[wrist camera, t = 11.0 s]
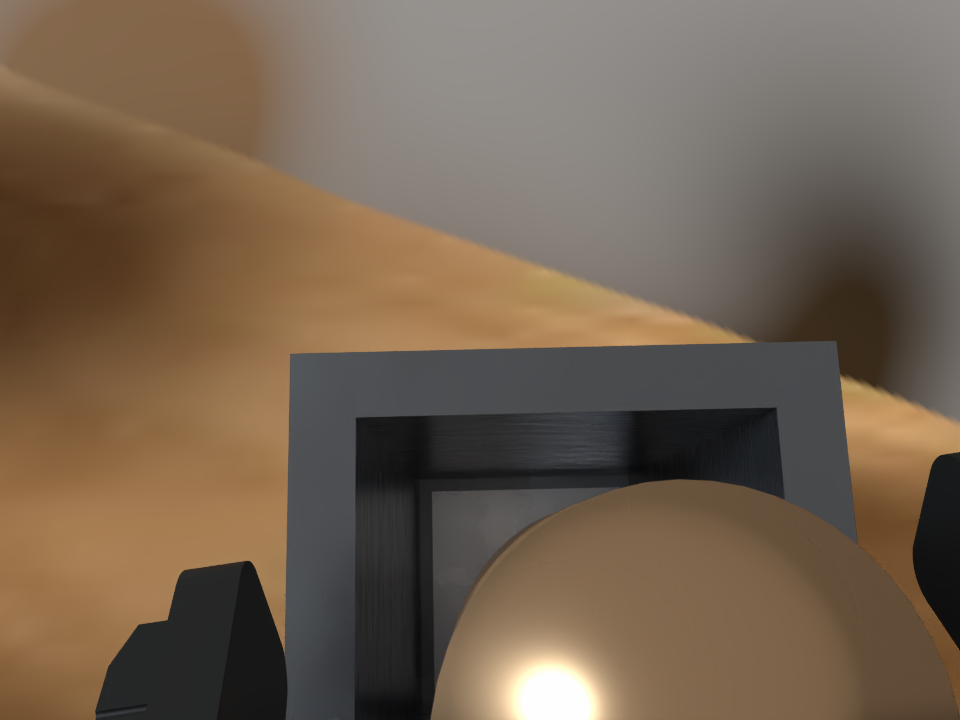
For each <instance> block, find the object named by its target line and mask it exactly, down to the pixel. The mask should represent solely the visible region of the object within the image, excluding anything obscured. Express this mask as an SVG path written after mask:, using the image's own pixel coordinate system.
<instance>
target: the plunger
mask: <svg viewBox="0 0 960 720" xmlns="http://www.w3.org/2000/svg"><path fill="white" fill-rule="evenodd" d="M432 529H433V608H434V687H435V690H436V691H435V697H434V702H433V708H432V714H431V720H960V718H959V712H958V707H957V703H956V700H955V697H954V694H953V690H952V687H951V684H950V681H949V678H948V674H947V671H946V669H945V666H944V664H943V662H942V660H941V657H940V655H939V653H938V651H937V648H936V646H935V644H934V642H933V639H932V637H931V635H930V634H929V632H928V630H927V629H926V627H925V625H924V624H923V622H922V620H921V619H920V617H919V615H918V614H917V612H916V610H915V609H914V607H913V605H912V604H911V603H910V601H909V600H908V599H907V597H906V596H905V595H904V594H903V592H902V591H901V590H900V588H899V587H898V586H897V584H896V583H895V582H894V581H893V579H892V578H891V577H890V576H889V575H888V574H887V573H886V572H885V570H884V569H883V568H882V567H881V566H880V565H879V564H878V563H877V562H876V561H875V560H874V559H873V558H872V557H871V556H870V555H869V554H868V553H867V552H866V551H865V550H864V549H862V548H861V547H860V546H858V545H857V544H856V543H855V542H853V541H852V540H851V539H850V538H848V537H847V536H846V535H845V534H843V533H842V532H841V531H840V530H838V529H837V528H835V527H834V526H832V525H831V524H829V523H827V522H826V521H824V520H822V519H821V518H819V517H817V516H816V515H814V514H813V513H811V512H809V511H808V510H805V509H803V508H801V507H799V506H797V505H794V504H792V503H790V502H788V501H786V500H783V499H781V498H779V497H777V496H774V495H770V494H767V493H764V492H761V491H757V490H754V489H751V488H748V487H745V486H739V485H733V484H727V483H722V482H716V481H705V480H681V479H677V480H666V481H655V482H645V483H641V484H636V485H632V486H627V487H623V488H620V487H607V488H565V489H523V490H481V491H439V492H432Z"/></svg>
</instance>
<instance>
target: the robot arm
mask: <svg viewBox="0 0 960 720" xmlns="http://www.w3.org/2000/svg"><path fill="white" fill-rule="evenodd" d="M913 564H914V570H915V574H916V578H917V581H918V584H919V586H920V589H921V591H922V593H923V595H924V597H925V599H926V600H927V602H928V604H929V605H930V607H931V608H932V609H933V611H934V612H935V614H936V615H937V617H938V618H939V620H940V621H941V623H942V624H943V626H944V627H945V629H946V630H947V632H948V633H949V635H950V636H951V638H952V639H953V641H954V642H955V644H956V645H957V647H958V648H959V650H960V452H958V453H951V454H945V455H940V456H939V457H937V458H936V459H935V461H934V463H933V464H932V467H931V471H930V475H929V479H928V484H927V488H926V492H925V497H924V501H923V506H922V510H921V514H920V519H919V523H918V527H917V532H916V536H915V540H914V545H913ZM287 696H288V684H287V669H286V661H285V656H284V651H283V647H282V643H281V640H280V638H279V635H278V632H277V629H276V626H275V623H274V620H273V618H272V615H271V612H270V609H269V606H268V603H267V600H266V598H265V595H264V592H263V589H262V586H261V583H260V580H259V578H258V575H257V572H256V569H255V567H254V565H253V564H252V563H251V562H250V561H243V562H236V563H229V564H223V565H216V566H209V567H203V568H196V569H189V570H184V571H183V572H182V573H181V574H180V576H179V578H178V581H177V584H176V588H175V592H174V596H173V600H172V604H171V608H170V613H169V617H168V620H167V621H160V622H154V623H147V624H140V625H138V626H137V628H136V629H135V631H134V632H133V633H132V635H131V636H130V637H129V639H128V640H127V642H126V643H125V644H124V646H123V647H122V649H121V650H120V651H119V653H118V654H117V655H116V657H115V658H114V660H113V661H112V662H111V664H110V665H109V667H108V670H107V673H106V677H105V680H104V684H103V687H102V690H101V694H100V697H99V700H98V704H97V707H96V711H95V713H96V720H286V709H287Z"/></svg>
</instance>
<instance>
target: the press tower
mask: <svg viewBox="0 0 960 720" xmlns="http://www.w3.org/2000/svg"><path fill="white" fill-rule="evenodd" d="M677 479H681V480H705V481H716V482H722V483H727V484H733V485H739V486H745V487H748V488H751V489H754V490H757V491H761V492H764V493H767V494H770V495H774V496H777V497H779V498H781V499H783V500H786V501H788V502H790V503H792V504H794V505H797V506H799V507H801V508H803V509H805V510H808V511H809V512H811V513H813V514H814V515H816V516H817V517H819V518H821V519H822V520H824V521H826V522H827V523H829V524H831V525H832V526H834V527H835V528H837V529H838V530H840V531H841V532H842V533H843V534H845V535H846V536H847V537H848V538H850V539H851V540H852V541H853V542H855V543H856V544H857V534H856V525H855V515H854V505H853V496H852V486H851V477H850V467H849V458H848V448H847V439H846V429H845V420H844V410H843V401H842V391H841V382H840V372H839V363H838V353H837V344H836V341H815V342H773V343H730V344H687V345H645V346H603V347H560V348H518V349H475V350H433V351H391V352H348V353H306V354H290V404H289V456H288V509H287V561H286V614H285V661H286V669H287V684H288V696H287V709H286V720H431V714H432V708H433V702H434V697H435V691H436V690H435V687H434V608H433V529H432V492H439V491H481V490H523V489H565V488H607V487H620V488H623V487H627V486H632V485H636V484H641V483H645V482H655V481H666V480H677ZM857 545H858V544H857Z"/></svg>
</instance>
